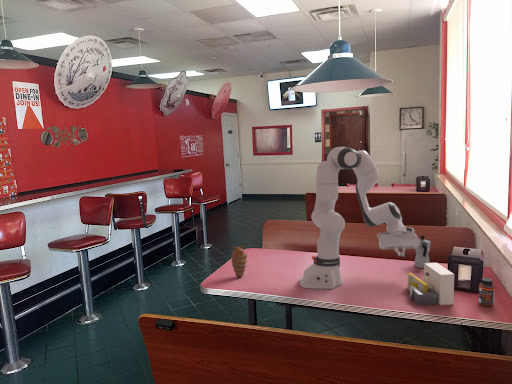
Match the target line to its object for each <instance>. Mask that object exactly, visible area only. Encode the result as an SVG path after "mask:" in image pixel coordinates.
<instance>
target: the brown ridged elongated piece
mask: <svg viewBox="0 0 512 384" xmlns="http://www.w3.org/2000/svg"><path fill="white" fill-rule="evenodd" d="M247 257H248V255H247V253H246V252H245V250H244V246H243V245H241V246H233V251H232V253H231V257H230V258H231V263H232V268H233V272H234V273H235V277H237V278H242V277H243V276H244V275H245V271H246V268H247V262H248V261H247V259H248V258H247Z"/></svg>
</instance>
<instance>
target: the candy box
mask: <svg viewBox="0 0 512 384" xmlns="http://www.w3.org/2000/svg"><path fill="white" fill-rule="evenodd" d="M410 286H413V287H415V288H416V289H418V290H419V291H420V292H421V293H428V284H426V283H425V282H424V280H422V279H420V278H419V277H418V276H416V275H415V274H413V273H412V272H407V286H406V287H407V288H406V289H407V290H408V291H410Z"/></svg>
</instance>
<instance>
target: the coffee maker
mask: <svg viewBox="0 0 512 384" xmlns="http://www.w3.org/2000/svg"><path fill="white" fill-rule="evenodd" d="M419 236H420V239H419V238H418V240H419V243H420V245H419V247H418V248H417V249H415V253H416V254H415V258H414V264H413V265H414V267H416V268H418V269H419V268H420V269H424V263H431V262H430V257H429V252H430V248H431V242H432V241H431V240H427V239H425V235H423V234H421V235H419Z"/></svg>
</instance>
